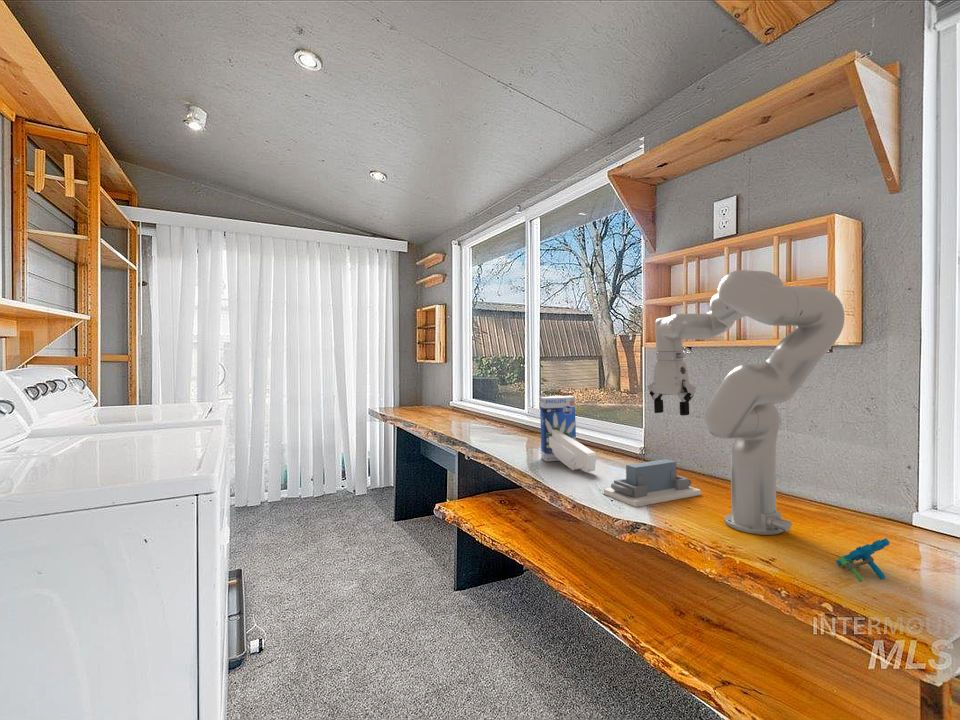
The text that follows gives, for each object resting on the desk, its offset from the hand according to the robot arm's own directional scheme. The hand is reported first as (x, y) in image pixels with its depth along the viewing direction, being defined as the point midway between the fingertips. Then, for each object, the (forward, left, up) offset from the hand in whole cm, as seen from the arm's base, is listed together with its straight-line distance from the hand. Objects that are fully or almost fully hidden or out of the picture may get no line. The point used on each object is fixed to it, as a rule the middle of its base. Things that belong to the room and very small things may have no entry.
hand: (671, 413), depth 142 cm
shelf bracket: (+43, +8, -25) cm, 50 cm away
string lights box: (+56, +4, -25) cm, 61 cm away
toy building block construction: (-54, +7, -25) cm, 60 cm away
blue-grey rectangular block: (+2, +6, -23) cm, 24 cm away
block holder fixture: (+3, +6, -24) cm, 25 cm away
